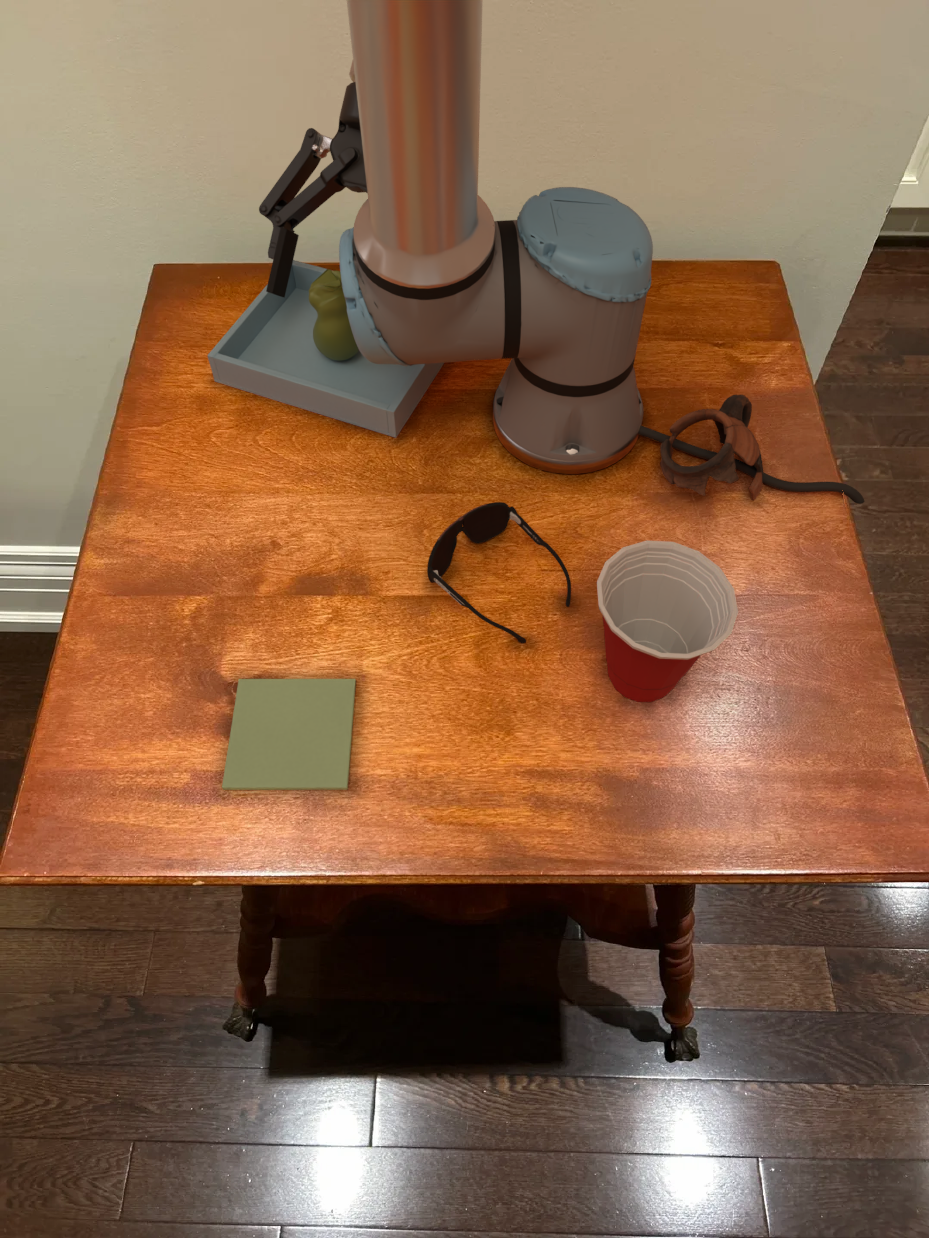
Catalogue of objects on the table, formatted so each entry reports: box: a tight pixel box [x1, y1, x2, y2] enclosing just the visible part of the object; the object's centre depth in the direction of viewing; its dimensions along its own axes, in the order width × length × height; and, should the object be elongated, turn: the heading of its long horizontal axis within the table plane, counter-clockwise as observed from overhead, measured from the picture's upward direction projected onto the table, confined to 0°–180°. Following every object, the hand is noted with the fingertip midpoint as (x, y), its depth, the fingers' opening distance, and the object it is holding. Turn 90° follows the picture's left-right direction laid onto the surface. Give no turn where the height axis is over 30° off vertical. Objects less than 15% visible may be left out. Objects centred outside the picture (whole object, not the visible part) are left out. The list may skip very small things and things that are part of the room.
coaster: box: [221, 678, 357, 791], centre depth 79 cm, size 10×10×1 cm
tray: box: [207, 259, 446, 439], centre depth 103 cm, size 22×18×4 cm
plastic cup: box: [596, 540, 739, 703], centre depth 77 cm, size 11×11×12 cm
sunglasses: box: [426, 501, 572, 644], centre depth 85 cm, size 10×12×5 cm
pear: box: [309, 268, 359, 361], centre depth 100 cm, size 6×5×10 cm
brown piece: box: [659, 394, 764, 501], centre depth 93 cm, size 12×10×8 cm
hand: (332, 311), depth 99 cm, fingers open, 13 cm apart
